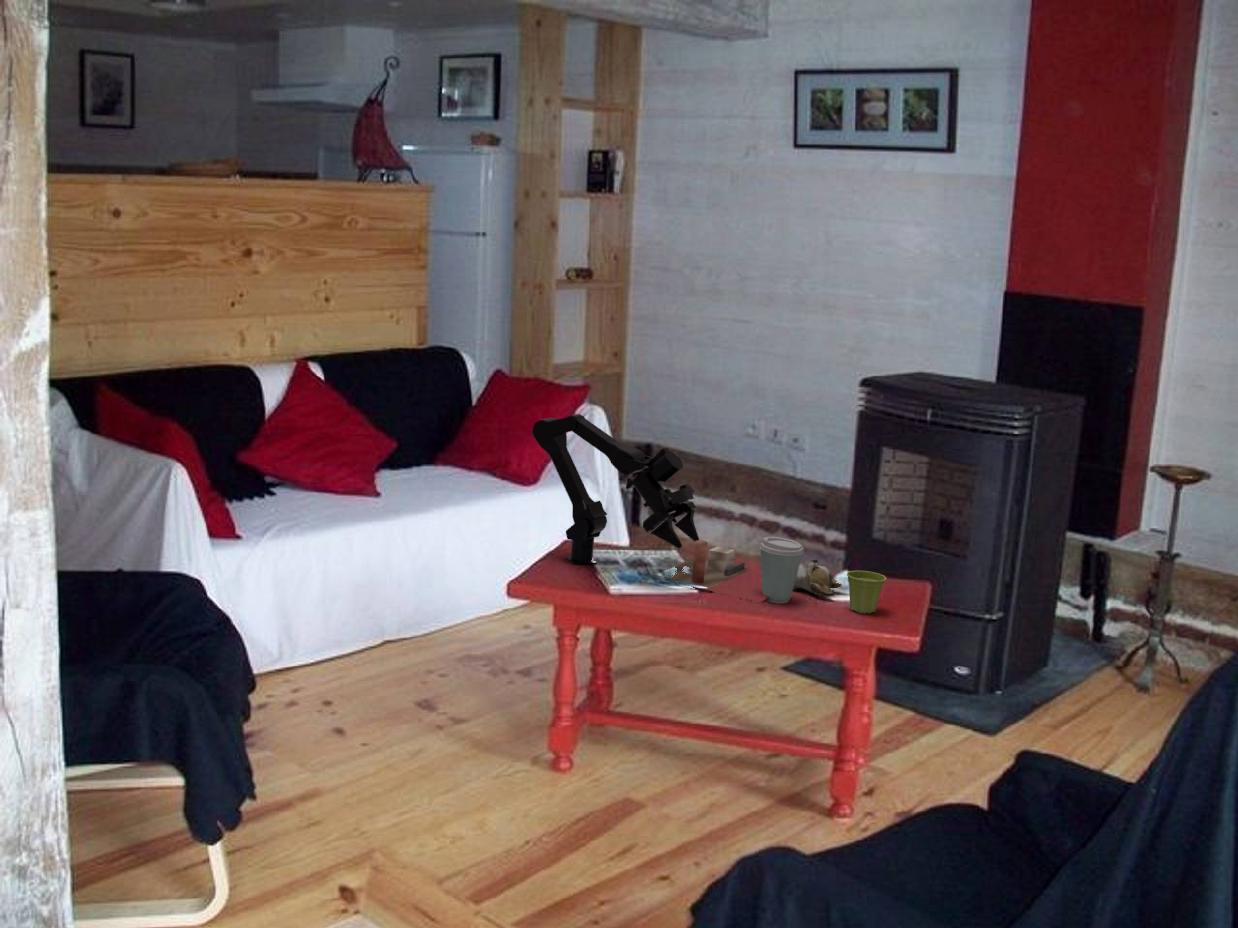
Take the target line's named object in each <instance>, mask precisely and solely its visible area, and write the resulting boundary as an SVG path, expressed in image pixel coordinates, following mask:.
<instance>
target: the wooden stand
mask: <svg viewBox="0 0 1238 928" xmlns="http://www.w3.org/2000/svg"><path fill="white" fill-rule="evenodd" d="M707 551H708V541H706V540H700V539H699V540H697V541H694V551H693V558H691V559H688V560H685V561H683V562H681V563H678V564H676V565H674V566H675V568H677V572H676V571H675V572H676V573H677V574H676V573H675V575H674V576H673V575H672V576H673V577H672V576H671V575H670V576H671V577H672V578H671V577H670V576H669V575H668V576H669V577H668V578H667V579H668V580H672V581H677V582H682V583H686V584H691V585H690V586H691V587H693V588H695V589H694V590H698V591H701V592H707V593H712V592H714V590H710V589H712V588H714V587H717V586H718V585H720V584H723V583H726V582H727V581H729V580H732V579H733V578H736V577H737V576H740V575H743V574H744V573H747V572H748V571H750V570H752V568H748V567H746V565H745V564H746V563H745V562H744V561H741V562H738V563H736V564H734V566H731V567H729V568H727V569H725V573H724V572H719V571H714V570H710V569H707V567H708V559H707V553H708V552H707ZM684 566H687V567H689V568H690V569H692V570H693V571H692V575H691V574H690V575H689V574H687V573H685V572H682V571H683V570H684V569H683V567H684ZM682 569H683V570H682ZM684 573H685V574H684ZM692 585H695V586H692ZM696 586H699V587H696ZM701 587H703V588H701ZM704 587H705V588H708V589H705V588H704ZM709 588H710V589H709Z"/></svg>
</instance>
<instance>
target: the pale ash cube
mask: <svg viewBox="0 0 1238 928" xmlns="http://www.w3.org/2000/svg"><path fill="white" fill-rule="evenodd" d="M735 555H736V550H735V549H731V548H727V547H721V546H715V547H713V548H711V549H709V550H708V559H707V560H708V567H707V569H710V570H714V571H719V572H724V573H725V569H727V568H729V567H731V566H734V565H735V557H736V556H735Z"/></svg>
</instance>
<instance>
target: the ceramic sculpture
mask: <svg viewBox="0 0 1238 928" xmlns="http://www.w3.org/2000/svg"><path fill="white" fill-rule="evenodd" d="M836 582H838V580H836V579H835V578H834V577H833V572H832V571H831V569H830V568H829V567H828V566H825V565H821V564H819V561H818V560H817V559H812V560H808V561H806V563H804V564H803V563H800V565H799V569H798V573H797V576H796V580H795V584H794V587H793V590H797V589H804V590H805V591H807V592H809V593H811V594H814V593H816V594H815V595H817V596H820V597H833V596H835V595H836V593H834V592H833V590H831V589H830V588H838V587H840V586H841V585H842V584H841V583H840V582H838V583H836ZM839 583H840V584H839Z"/></svg>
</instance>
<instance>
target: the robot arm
mask: <svg viewBox="0 0 1238 928" xmlns="http://www.w3.org/2000/svg"><path fill="white" fill-rule="evenodd" d="M569 432H572V433H573V434H575V435H577V436H579V437H580V438H581V439H583V440H584V441H585V442H587V444H589V445H591V446H592V447H594V448H595V449H597V450H598V451H600V452H601V454H603V455H605V456H606V457H607V458H608V460H609V462H610V464H611V465H612V466H613V467H614V468H615V469H616V470H617V471H618V472H619V474H621V475H625V476H628V475H632V474H636V473H637V474H636V475H634V477H627V478H626V481H627V482H626V485H625V486H626V487H625V489H626V490H630V489H634V488H635V489H636V491H637V493H638V494H639V495H640V496H641V499H643V501H644V502H645V503H643V504H642V505H643V506H644V508H646V509H647V508H649V509H650V510H651V512H652V514H651V515H649V516H648V517H647V518H646V519H644V520H643V522H642V528H643V529H644V531H645V532H646V533H647V534H648V533H650V534H651V535H654V536H656V537H658V538H659V539H661V540H663V541H665V542H667V543H669V544H670V545H672V546H673V547H675V548H677V549H681V548H682V547H683V545H682V542H681V540H680V538H679V536H678V535H677V533H676V532H675V530H674V528H673V523H675V524H674V526H675V527H676V528H678V530H680V531H681V532H683V534H685V535H686V536H687V537H688V538H689V539H691V540H692V541H694V542H695V541H697V540H700V538H699V535H698V531H697V528H696V525H695V522H694V516H695V514H696V509H697V506H696V505H695V503H694V502H693V501H692V500H694V499H695V498H694V493H695V489H694V488H692V486H691V485H690V484H689V483H685V484H681V485H680V486H679V489H678V490H675V491H672V490H671V489H670V488H664V486H663V485H662V484H661V482H663V483H667V482H668V481H669V480H671V478H674V476H675V475H676V474H678V472H680V471H681V470H682V469H683V468H684V464H683V460H682V459H681V458H680V457H679V456H677V454H675V453H674V452H673V451H671V450H669V448H668V447H663V448H661V449H660V450H659V452H658V453H656V455H655V456H653V457H652V456H649V455H647V454H646V455H645V452H643V451H642V450H640V449H639V448H636V447H634V446H632V445H629V444H625V443H623V442H620V441H618V440H616V439H615V438H614V437H612V436H611V435H609V434H608V433H606V432H605V431H603V430H602V429H601V428H600V427H598V426H596V425H595V424H594V423H592V422H591V421H590V420H588V419H587V418H586V417H585V416H584V415H583V414H581V413H576V414H572V415H571V414H570V415H568V416H566V417H562V418H558V417H557V418H556V417H549V418H548V417H547V418H543V419H539V420H537V421H536V422H534V424H533V426H532V429H531V433H532V436H533V438H534V440H535V441H536V443H537V444H538V446H539V447H540V448H541V449H542V450H543V451H545V453H547V454H548V456H549V457H550V460H551V461H552V464H553V465H554V469H555V470H556V472H557V474H558V477H559V478H560V481H561V483H562V485H563V488H564V489H565V492H566V494H567V496H568V498H569V500H570V503H571V505H572V515H571V516H572V519H573V525H571V526H569V527H568V529H566V530H565V535H566V539H567V540H570V541H571V545H570V546H571V547H570V555H566V556H565V558H566V560H568V561H569V562H570V563H572V564H573V565H592V564H591V563H590V562H591V560H592V558H593V557H594V546H595V538H598V537H600V535H601V533H602V531H604V530H605V528H606V527H607V524H608V519H607V515H608V513H607V512H606V511H605V509H604V505H603V504H602V502H601V500H597V501H594V499H592V498H591V496H590V495H589V492H588V491H587V489H586V486H585V484H584V482H583V479H582V477H581V476H580V473H579V471H578V470H577V467H576V465H575V463H574V460H573V458H572V456H571V454H570V452H569V449H568V447H567V441H568V439H567V438H568V437H567V436H568V435H567V433H569ZM644 469H646V471H643V470H644ZM593 559H594V558H593Z"/></svg>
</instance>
